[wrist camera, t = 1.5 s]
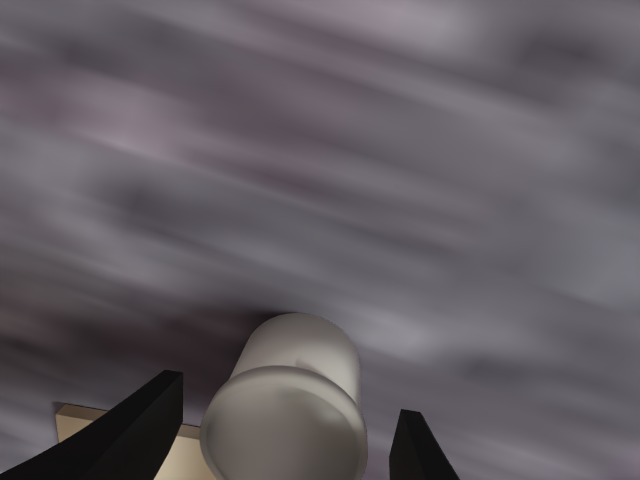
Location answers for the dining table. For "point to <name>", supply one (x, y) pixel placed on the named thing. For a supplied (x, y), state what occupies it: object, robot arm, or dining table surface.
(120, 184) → the dining table surface
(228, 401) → the cap
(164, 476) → the square wooden board
